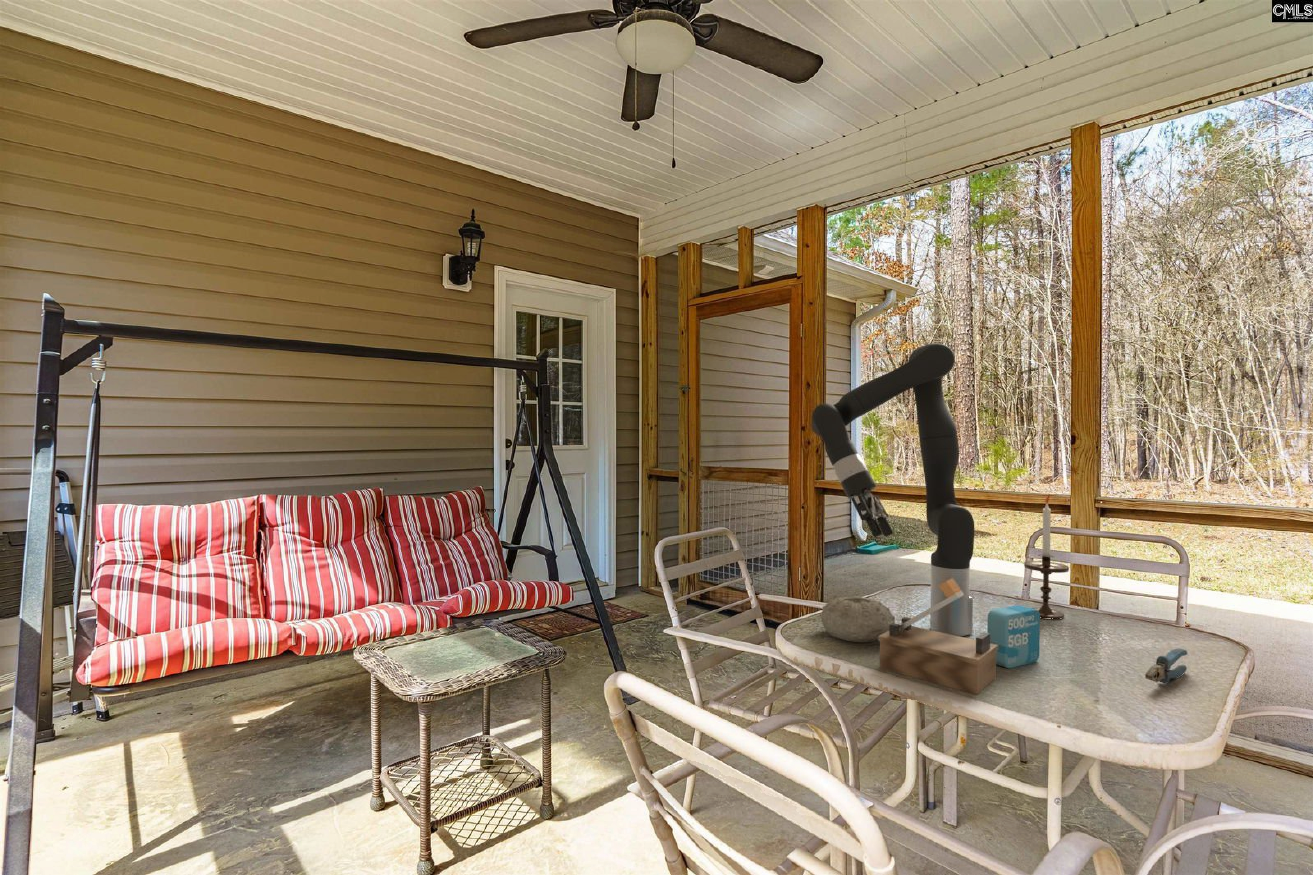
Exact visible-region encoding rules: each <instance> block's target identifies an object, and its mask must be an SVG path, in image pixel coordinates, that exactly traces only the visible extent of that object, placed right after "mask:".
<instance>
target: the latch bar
mask: <svg viewBox="0 0 1313 875" xmlns="http://www.w3.org/2000/svg"><path fill="white" fill-rule="evenodd" d="M939 587H940V588H941V590H942V591H943V593H944V594H945V595H946V597H947V599H945V600H943V601H942V602H940V603H938V604H936V605H935V606H933V607H931V608H930V607H929V608H928V609H926V610H924V611H922V612H920V613H919V614H917V615H915V616H914V617H912V618H911V617H910V618H911V619H910V620H908V621H906V622H904V623H902V622H901V623H900V632H901V631H902V630H904V629H906V628H907V627H908V626H910V625H911V626H912V625H913V624H915V623H916V622H918V621H921V620H922V619H924V618H926V617H927V616H930V614H931V613H933V612H935V611H937V610H938V609H940V608H942V607H944V606H945V605H947V604H949V603H951V602H953V601H954V600H956V599H958V598H960V597H962V596H963V595H964V593H963V592H962V590H961V589H960V587H959V586H958V585H957V583H956V582H955V580H954V579H953V578H952V579H950V580H947V581H945V582H944V583H942V584H940V585H939Z"/></svg>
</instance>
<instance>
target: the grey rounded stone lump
mask: <svg viewBox="0 0 1313 875" xmlns="http://www.w3.org/2000/svg"><path fill="white" fill-rule="evenodd" d="M820 620H821V623H822V625H823V628H824V629H825V631H826V632H828V634H829V635H831V637H833V638H836V639H839V640H844V641H848V642H851V643H871V642H872V643H873V641H878V636H879V635H881V634H883V633H885V632H887V631H889V625H890V624H891V623H895V624H896V616H894V615H893V613H892V612H891V610H890V608H889V607H887V606H886V605H885V604H883V603H882V602H880V601H879V600H876V599H874V598H873V599H870V598H868V597H864V596H857V595H856V596H849V597H845V596H844V597H839V596H838V597H835V598H832V599H831V600H829V601H828V602H827V603H826V604H825V605H823V606H822V611H821V614H820Z"/></svg>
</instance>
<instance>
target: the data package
mask: <svg viewBox="0 0 1313 875" xmlns="http://www.w3.org/2000/svg"><path fill="white" fill-rule="evenodd" d="M1032 608H1033V607H1028V606H1023V605H1019V604H1015V605H1011V606H1005V607H999V608H993V609H991V610H990V611H989V612H988V613H987V627H986V628H987V632H986V633H990V643H991V644H996V645H998V650H997V651H996V666H997V665H998V666H1001V667H1003V668H1006V669H1013V668H1016V667H1017V668H1018V667H1021V666H1024V665H1029V664H1033V663H1036V662H1037V661H1038V660H1039V658H1040V644H1041V643H1040V642H1041V641H1040V637H1041V636H1040V632H1041V631H1040V628H1041V626H1040V625H1041V624H1040V623H1041V618H1040V614H1039V612H1038V610H1036V609H1032Z"/></svg>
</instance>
